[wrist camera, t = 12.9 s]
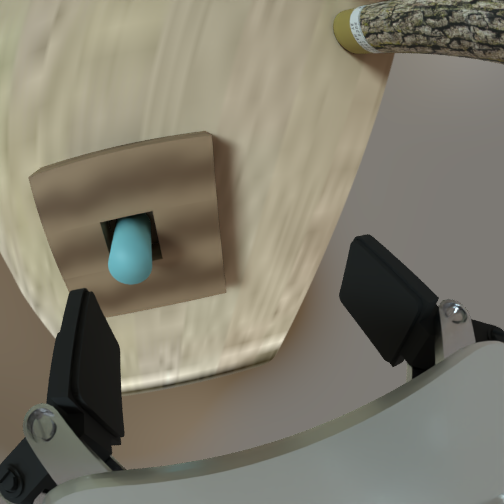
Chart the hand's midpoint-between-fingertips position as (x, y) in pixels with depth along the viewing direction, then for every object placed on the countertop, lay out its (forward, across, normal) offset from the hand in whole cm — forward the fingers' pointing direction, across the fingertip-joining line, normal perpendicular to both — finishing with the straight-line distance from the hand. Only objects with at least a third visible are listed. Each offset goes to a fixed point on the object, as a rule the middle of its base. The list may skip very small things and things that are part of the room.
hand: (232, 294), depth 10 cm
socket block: (+25, +7, +9) cm, 27 cm away
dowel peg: (+25, +7, +9) cm, 27 cm away
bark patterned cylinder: (+26, -23, -15) cm, 38 cm away
